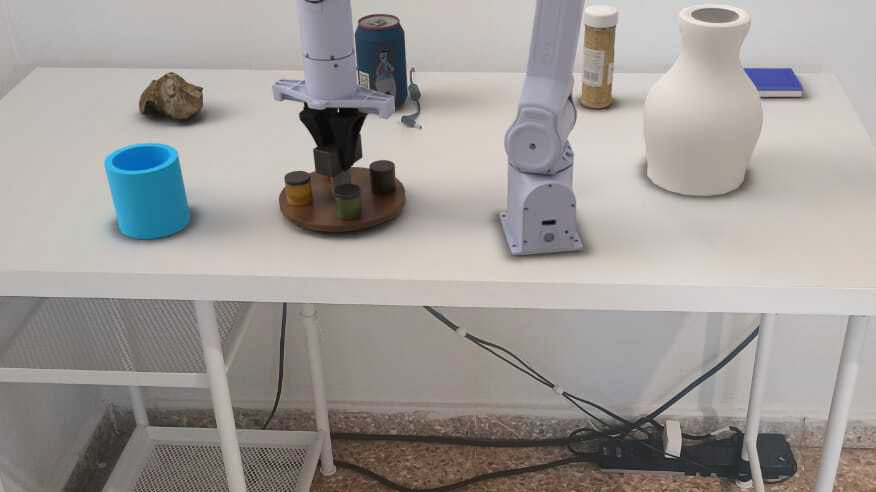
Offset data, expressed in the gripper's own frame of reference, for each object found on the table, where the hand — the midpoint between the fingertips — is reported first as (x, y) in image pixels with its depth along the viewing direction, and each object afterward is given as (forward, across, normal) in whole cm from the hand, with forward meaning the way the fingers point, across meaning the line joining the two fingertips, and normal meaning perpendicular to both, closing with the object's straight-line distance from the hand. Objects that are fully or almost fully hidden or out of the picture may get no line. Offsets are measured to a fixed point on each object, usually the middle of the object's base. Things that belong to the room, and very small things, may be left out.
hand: (339, 165), depth 121 cm
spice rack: (+6, 0, 0) cm, 6 cm away
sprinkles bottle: (+6, +19, +41) cm, 46 cm away
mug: (+6, -20, -10) cm, 23 cm away
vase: (+6, +37, +24) cm, 44 cm away
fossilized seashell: (+6, -36, +16) cm, 40 cm away
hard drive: (+6, +38, +55) cm, 67 cm away
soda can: (+6, -10, +30) cm, 32 cm away
